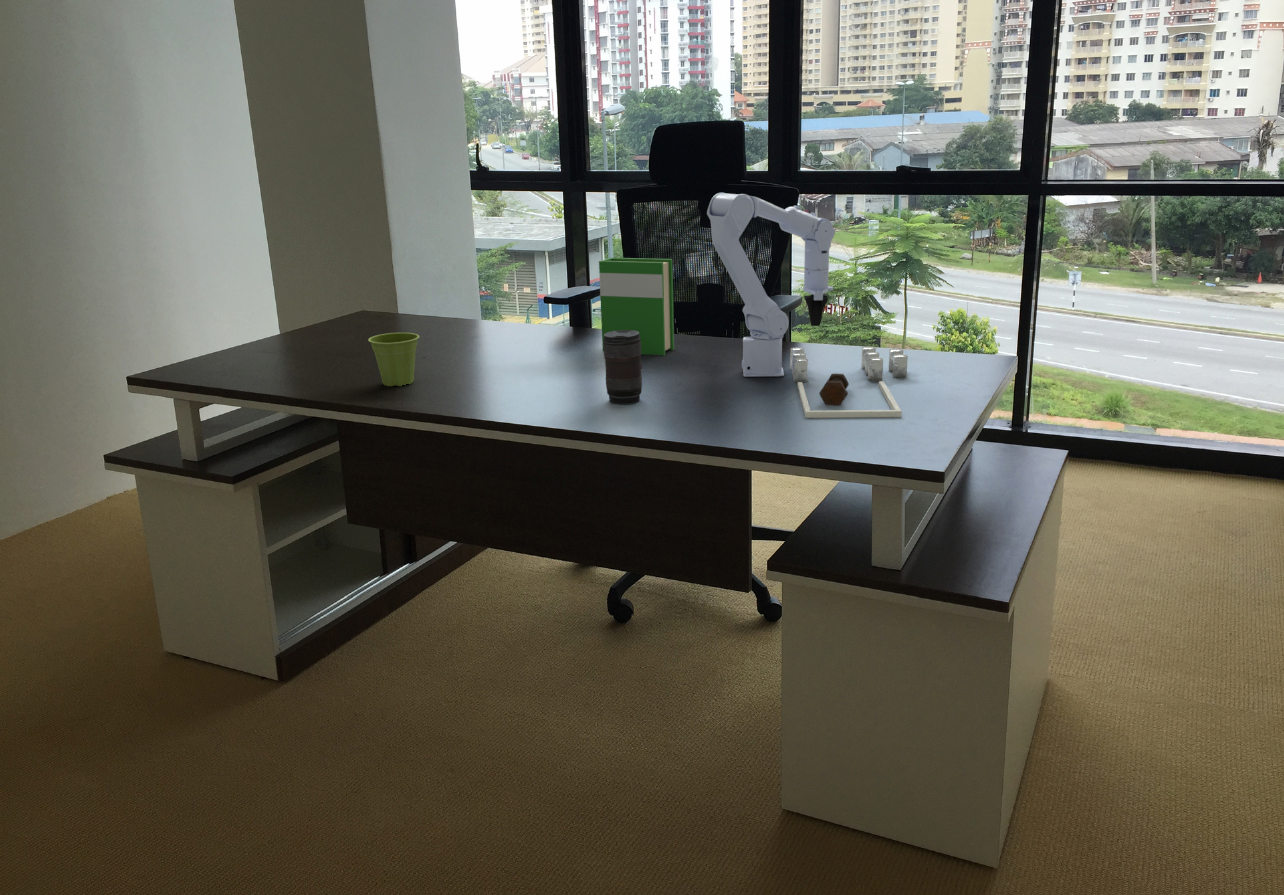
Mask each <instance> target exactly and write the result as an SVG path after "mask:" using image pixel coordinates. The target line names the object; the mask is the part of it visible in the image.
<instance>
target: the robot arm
mask: <svg viewBox="0 0 1284 895" xmlns="http://www.w3.org/2000/svg"><path fill="white" fill-rule="evenodd" d="M706 215H707V217H708V218H709V220H710V227H711V228H710V230H711V231H710V232H711V240H712V241H711V242H712V245H713V247H714V248H715V250H716V252H717V254H718V256H719V257H720V261H721V262H722V263H723V265H724V268H725V269H726V271H727V272H728V274H729V277H730V279H731V281H732V282H733V284H734V287H735V288H736V290H737V291H738V294H739V295H740V296H739V297H740V298H741V299H742V301H743V303H744V306H743V308H742V310H741V311H742V312H743V314H744V319H745V325H746V328H747V329H748V331H749V332H750V333H749V336H743V338H742V360H741V368H742V371H743V372H742V374H743V375H742V376H743V377H745V378H746V377H748V378H749V377H784V376H785V373H784V369H783V367H782V363H783V361H782V360H783V357H782V356H783V347H782V346H783V338H784V335H785V333H786V332H787V330H788V329H789V322H790V321H789V317H788V315H787V314H786V312H784V311H782V309H780V307H779V305H778V304H777V303H776V302H775V301H774V300H772V299H771V298H770V296H768V294H767V293H766V290H765V288H764V287H763V285H762V283H761V282H760V279H759V277H758V275H757V274H756V271H755V270H754V268H753V266H752V264H751V262H750V260H749V258H748V256H747V254H746V252H745V249H744V248H743V246H742V244H741V243H740V240H739V239H740V237H741V236H742V234H743V232H744V231H745V230H746V228H747V226H748V224H749V223H750V221H751V220H752V218H757V217H759V218H762V219H767V220H770V221H773V222H775V223H778V225H779V228H780V230H781V231H784V232H786V233H789V234H791V235H794V236H796V237H799V238H800V239H802V240H803V241H804V264H803V265H804V269H803V270H804V271H803V272H804V274H803V277H804V278H803V283H804V284H803V288H802V290H803V292H805V293H807V294H809V295H803V299H804V301H805V303H806V305H807V310H808V318H809V323H810V325H811V326H812V327H817V326H818V327H819V326H821V324H822V323H821V322H822V320H823V312H824V310H825V307H826V305H827V303H828V301H829V297H828V294H827V293H828V292H829V291H834V286H829V271H830V270H829V269H830V268H829V267H830V266H829V265H830V248H831V247H832V246H831V245H832V241H833V239H834V237H835V234H836V229H834V225H833V223H832V222H831V220H830V219H828V218H825V217H824V218H823V217H818V216H817V214H816V213H815V212H810V213H809V212H806V211H804V210H802V207H801V206H798V205H793V206H788V207H786V208H785V209H784V208H782V207H780V206H777V205H775V204H773V203H771V202H768V201H766V200H764V199H761V198H760V197H757V196H752V195H748V194H746V193H740V194H739V193H738V194H736V193H725V192H718V193H716V194H715V195H713V197H711V200H710V202H709V205H708V207H707V211H706Z"/></svg>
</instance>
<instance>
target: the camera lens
mask: <svg viewBox="0 0 1284 895" xmlns="http://www.w3.org/2000/svg"><path fill="white" fill-rule="evenodd" d="M603 340H604V341H603V346H604V352H603V358H604V363H605V364H604V366H605V368H604V369H605V387H606V393H607V395H608V400H609V402H610V403H613V404H616V405H630V404H636V403H638V402H640V400H641V398H640V397H641V394H642V392H643V391H642V389H643V388H642V387H643V381H642V380H643V377H642V369H643V367H642V366H643V365H642V360H641V359H642V354H641V339H640V336H639V332H638V331H634V330H618V331H611V332H607V333H605V334H604V339H603ZM603 346H602V347H603Z"/></svg>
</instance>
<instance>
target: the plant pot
mask: <svg viewBox="0 0 1284 895" xmlns="http://www.w3.org/2000/svg"><path fill="white" fill-rule="evenodd" d="M419 338H420V335H419V334H417V333H413V332H389V333H383V334H377V335H374V336H371V337H369V338H368V342H369V343H370V345H371V348H372V351H373V353H374V356H375V359H376V364H377V366H378V370H379V373H380V377H381V381H382V384H383V385H384V386H385V387H386V386H387V387H390V386H391V387H394V386H397V387H403V386H402V385H405V386H407V385H406V384H409V385H411V384H413V382H414V381H415V366H416V365H415V364H416V352H417V347H418V339H419Z"/></svg>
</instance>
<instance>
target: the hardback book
mask: <svg viewBox="0 0 1284 895" xmlns="http://www.w3.org/2000/svg"><path fill="white" fill-rule="evenodd" d="M673 271H674V270H673V259H672V258H643V257H642V258H640V257H639V258H635V257H634V258H633V257H632V258H631V257H608V258H606V259H605V258H604V259H602V260H600V261H598V272H599V273H598V274H599V292H600V293H599V296H600V298H599V299H600V317H601V320H600V321H601V339H602V340H601V341H602V342H601V343H602V345H601V346H602V352H603V353H604V346H603V341H604V340H603V339H604V334H605V333H607V332H611V331H618V330H634V331H638V332H639V336H640V339H641V355H650V354H653V355H654V354H655V355H654V356H665V355H666V351H674V350H675V325H674V280H673V278H674V276H673ZM656 354H657V355H656ZM653 355H652V356H653Z"/></svg>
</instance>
